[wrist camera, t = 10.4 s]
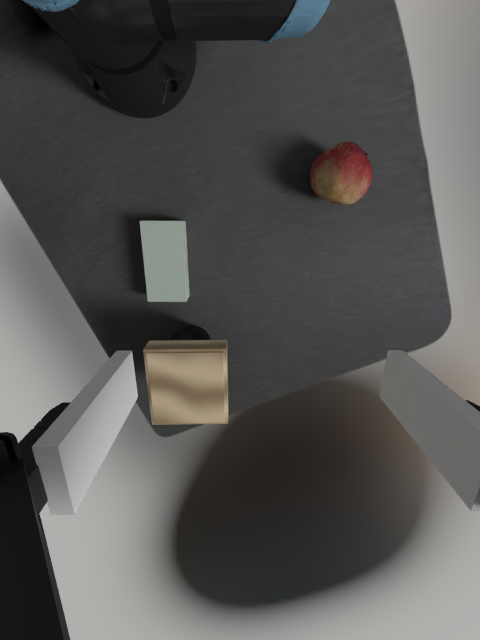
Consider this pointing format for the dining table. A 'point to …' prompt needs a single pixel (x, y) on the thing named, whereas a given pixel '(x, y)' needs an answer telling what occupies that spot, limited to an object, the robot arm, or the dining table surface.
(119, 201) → the dining table surface
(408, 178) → the dining table surface
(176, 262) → the sage green box base
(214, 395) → the lid
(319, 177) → the fruit
